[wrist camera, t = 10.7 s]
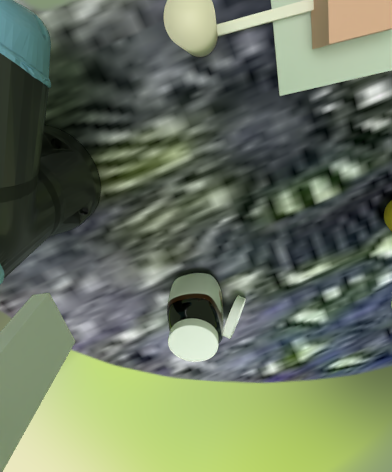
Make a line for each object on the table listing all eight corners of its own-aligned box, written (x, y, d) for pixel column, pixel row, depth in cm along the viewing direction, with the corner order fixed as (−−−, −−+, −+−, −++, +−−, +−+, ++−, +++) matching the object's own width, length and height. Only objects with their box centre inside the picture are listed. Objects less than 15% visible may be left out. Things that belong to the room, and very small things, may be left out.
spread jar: (168, 270, 50) (154, 320, 39) (237, 258, 48) (241, 307, 37) (188, 324, 55) (179, 381, 45) (250, 315, 53) (257, 373, 43)
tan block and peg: (190, 79, 36) (176, 80, 26) (173, -2, 33) (150, -40, 22) (390, 29, 33) (470, 6, 22) (395, -69, 29) (494, -153, 18)
